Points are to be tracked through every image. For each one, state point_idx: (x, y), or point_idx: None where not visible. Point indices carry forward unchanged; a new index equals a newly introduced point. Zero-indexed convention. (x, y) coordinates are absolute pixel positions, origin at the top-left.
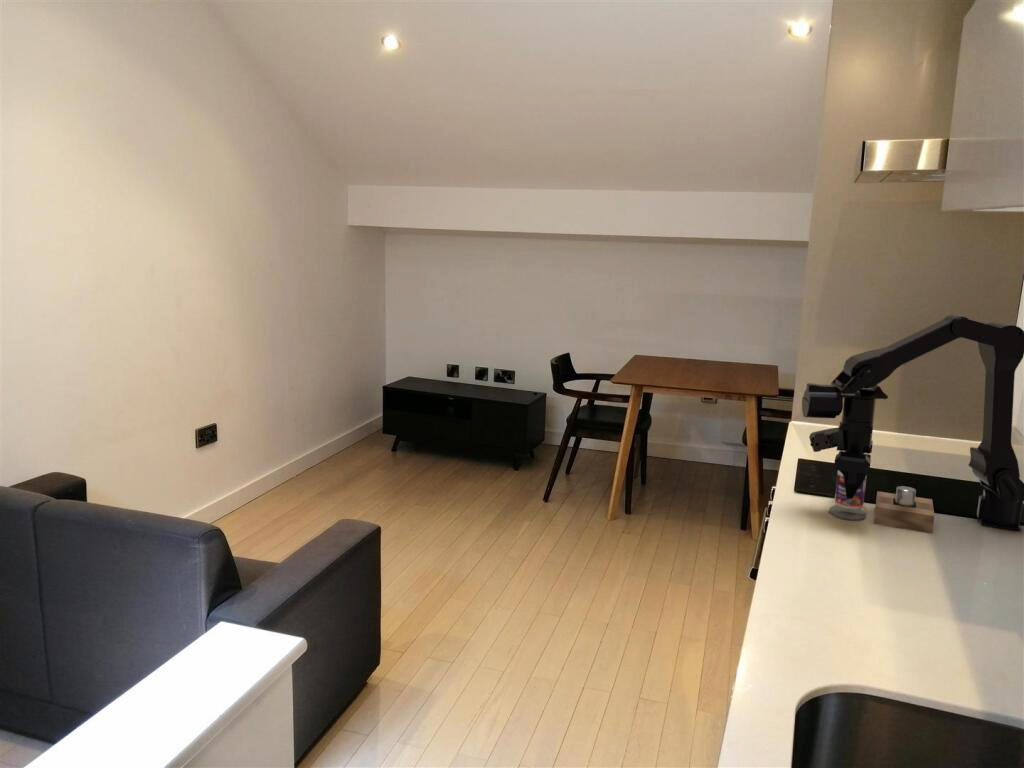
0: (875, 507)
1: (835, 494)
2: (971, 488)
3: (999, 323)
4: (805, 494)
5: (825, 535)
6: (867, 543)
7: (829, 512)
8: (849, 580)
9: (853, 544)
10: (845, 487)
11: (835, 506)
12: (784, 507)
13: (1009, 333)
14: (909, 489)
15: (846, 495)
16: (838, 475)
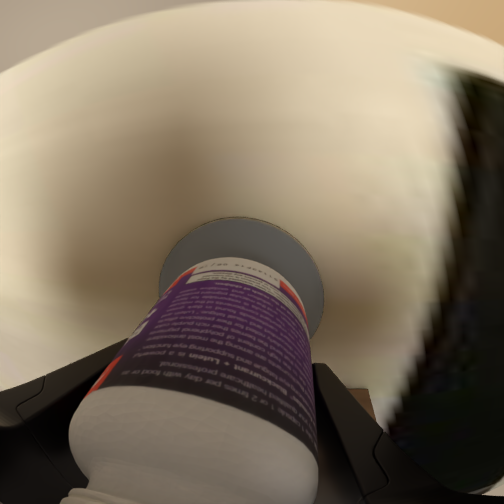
0: (352, 392)
1: (204, 278)
2: (485, 478)
3: None
4: (452, 115)
5: (11, 214)
6: (30, 321)
7: (217, 220)
8: None
9: (7, 286)
10: (71, 365)
11: (288, 252)
12: (207, 17)
13: None
14: None
15: (118, 343)
16: (114, 381)
